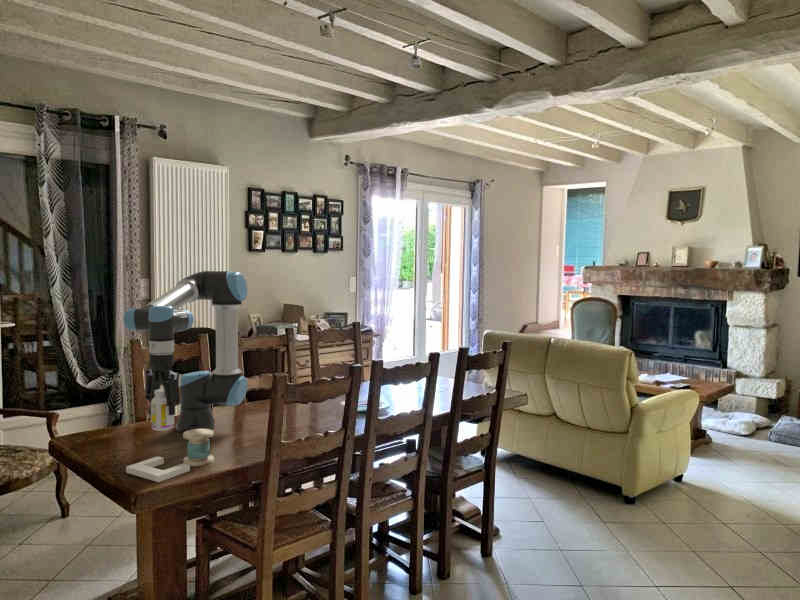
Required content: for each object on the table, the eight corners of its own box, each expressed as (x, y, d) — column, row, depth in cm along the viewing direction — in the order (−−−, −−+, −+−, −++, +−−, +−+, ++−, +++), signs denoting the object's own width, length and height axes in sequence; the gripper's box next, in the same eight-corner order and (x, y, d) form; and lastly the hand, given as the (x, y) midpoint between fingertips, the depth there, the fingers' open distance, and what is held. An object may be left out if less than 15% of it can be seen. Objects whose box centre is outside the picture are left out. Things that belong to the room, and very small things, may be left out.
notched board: (157, 462, 204) (157, 456, 203) (189, 470, 196) (189, 464, 195) (126, 472, 193) (126, 466, 193) (158, 482, 185) (158, 476, 185)
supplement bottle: (176, 426, 198) (176, 388, 197) (167, 431, 192) (167, 392, 191) (157, 425, 199) (156, 387, 198) (147, 431, 192) (147, 391, 191)
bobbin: (200, 454, 212) (199, 427, 211) (220, 459, 207) (219, 431, 206) (176, 462, 203) (176, 433, 202) (197, 468, 198) (196, 438, 197)
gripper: (132, 352, 195) (133, 421, 197) (172, 357, 185) (173, 430, 187) (152, 349, 202) (153, 416, 203) (191, 354, 192) (192, 424, 193)
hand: (162, 422), depth 195 cm, fingers closed on supplement bottle, 7 cm apart
